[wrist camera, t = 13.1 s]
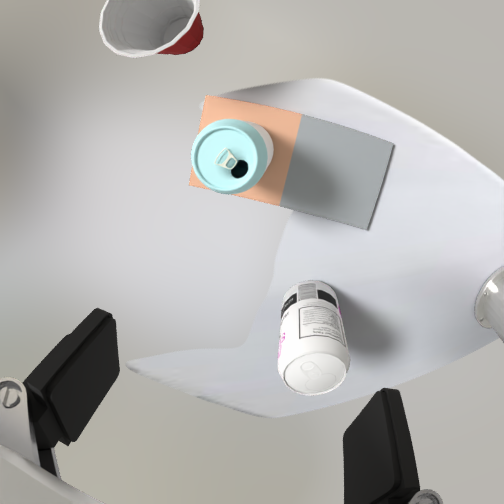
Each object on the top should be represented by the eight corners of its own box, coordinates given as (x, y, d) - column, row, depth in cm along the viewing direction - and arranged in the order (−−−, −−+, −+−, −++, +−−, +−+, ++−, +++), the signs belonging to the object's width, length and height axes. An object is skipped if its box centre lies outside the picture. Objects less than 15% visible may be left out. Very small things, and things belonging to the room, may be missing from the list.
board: (392, 143, 33) (393, 143, 33) (365, 228, 38) (366, 230, 38) (207, 95, 34) (205, 95, 33) (190, 184, 39) (188, 185, 38)
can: (274, 121, 34) (266, 117, 23) (273, 177, 37) (265, 199, 26) (216, 121, 35) (183, 120, 24) (217, 176, 37) (186, 198, 26)
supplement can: (346, 308, 44) (362, 381, 30) (299, 331, 46) (299, 406, 33) (320, 268, 41) (332, 336, 28) (271, 294, 44) (262, 367, 30)
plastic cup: (192, 87, 34) (153, 74, 23) (133, 54, 32) (81, 37, 21) (241, 22, 29) (221, -16, 18) (177, -7, 28) (139, -43, 17)
